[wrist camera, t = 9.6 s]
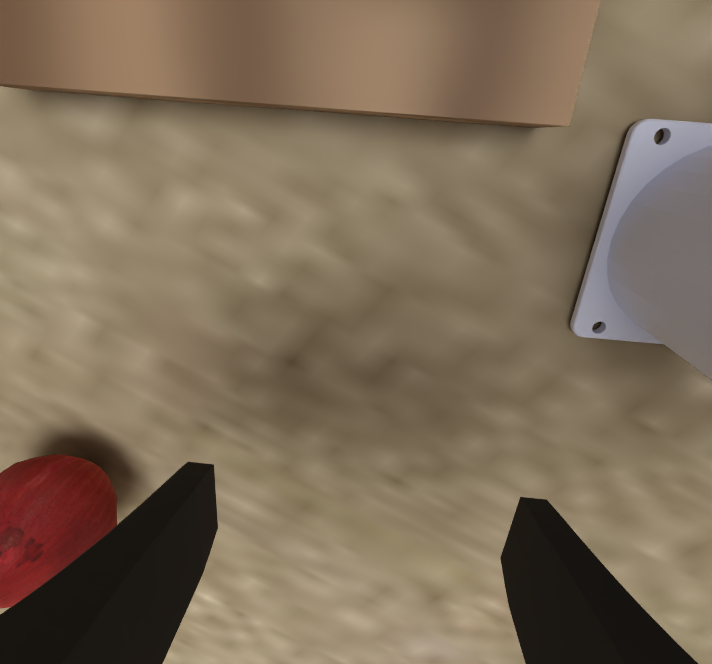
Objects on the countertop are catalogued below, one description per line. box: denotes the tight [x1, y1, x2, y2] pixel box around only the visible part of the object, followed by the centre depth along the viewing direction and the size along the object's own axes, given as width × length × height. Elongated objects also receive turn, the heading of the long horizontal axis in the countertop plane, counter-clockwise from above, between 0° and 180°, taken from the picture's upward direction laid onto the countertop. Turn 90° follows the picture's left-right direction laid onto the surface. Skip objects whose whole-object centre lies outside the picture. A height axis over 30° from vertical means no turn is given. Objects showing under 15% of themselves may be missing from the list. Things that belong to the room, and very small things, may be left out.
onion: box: [0, 454, 117, 608], centre depth 19 cm, size 6×6×8 cm
